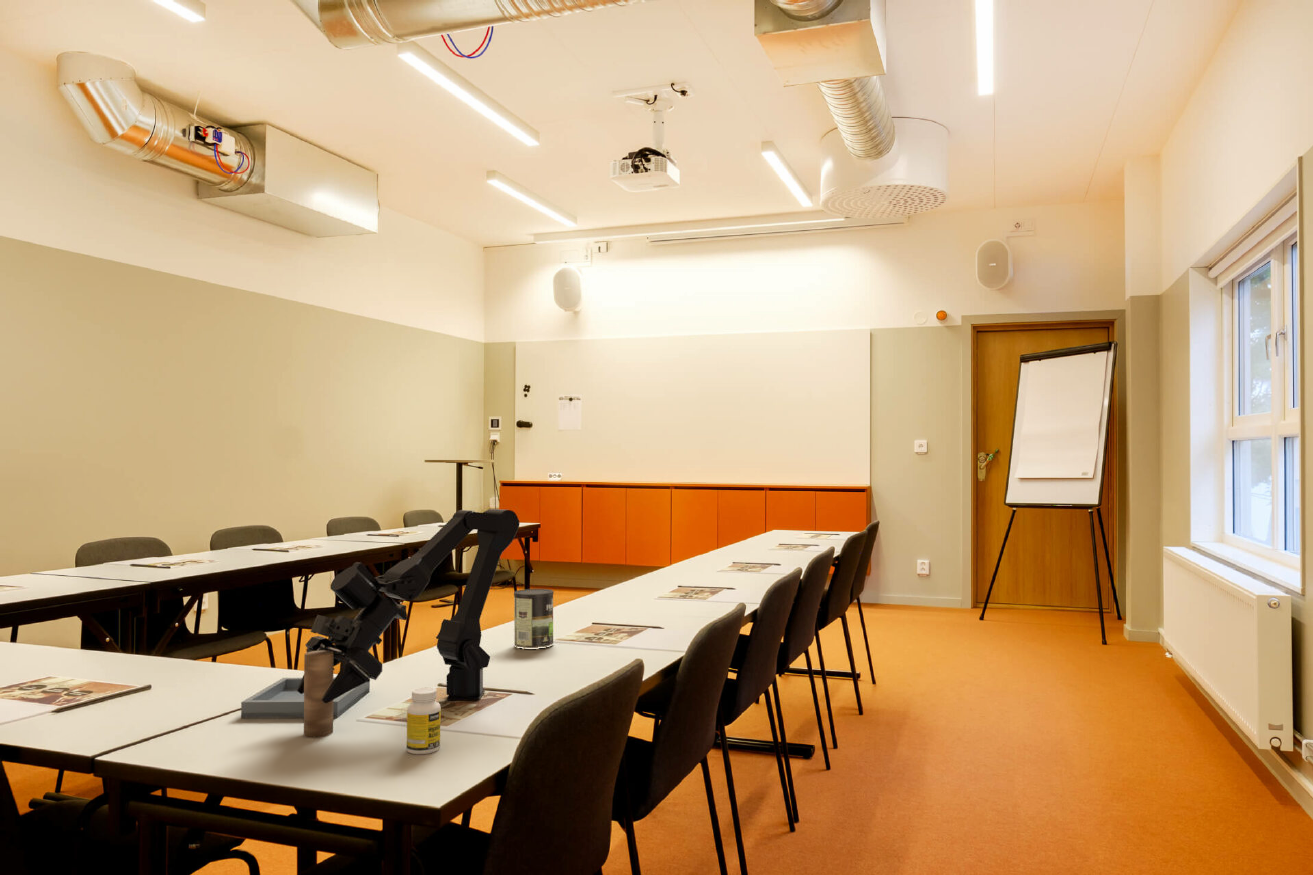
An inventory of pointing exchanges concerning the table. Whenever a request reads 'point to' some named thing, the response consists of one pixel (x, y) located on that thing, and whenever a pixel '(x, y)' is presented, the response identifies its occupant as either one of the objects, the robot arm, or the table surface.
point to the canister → (317, 693)
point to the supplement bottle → (423, 722)
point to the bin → (293, 700)
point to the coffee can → (533, 618)
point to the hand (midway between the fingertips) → (311, 697)
